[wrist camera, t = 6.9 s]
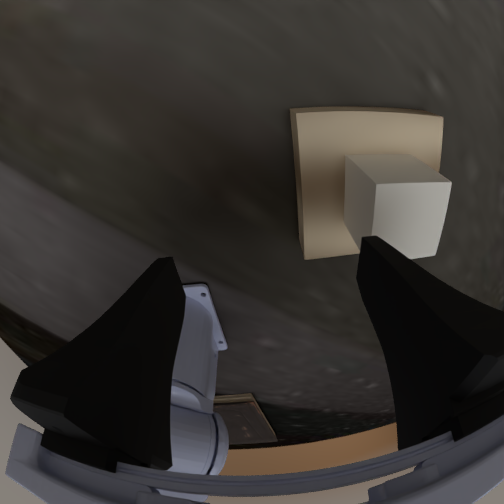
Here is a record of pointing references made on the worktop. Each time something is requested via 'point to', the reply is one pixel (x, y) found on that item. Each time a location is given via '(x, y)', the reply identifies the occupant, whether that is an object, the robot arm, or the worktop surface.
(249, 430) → the hardcover book
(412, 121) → the oak plinth
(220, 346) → the robot arm
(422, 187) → the cream cube
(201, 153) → the worktop surface
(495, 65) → the worktop surface
